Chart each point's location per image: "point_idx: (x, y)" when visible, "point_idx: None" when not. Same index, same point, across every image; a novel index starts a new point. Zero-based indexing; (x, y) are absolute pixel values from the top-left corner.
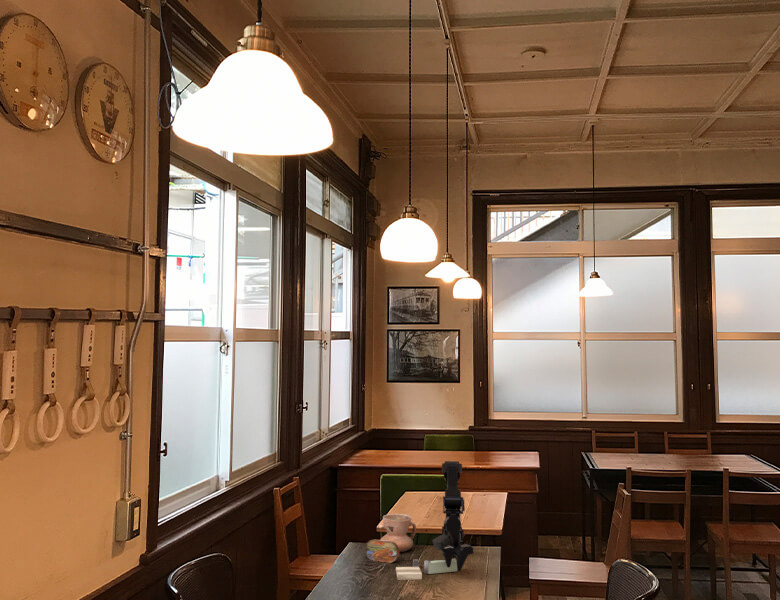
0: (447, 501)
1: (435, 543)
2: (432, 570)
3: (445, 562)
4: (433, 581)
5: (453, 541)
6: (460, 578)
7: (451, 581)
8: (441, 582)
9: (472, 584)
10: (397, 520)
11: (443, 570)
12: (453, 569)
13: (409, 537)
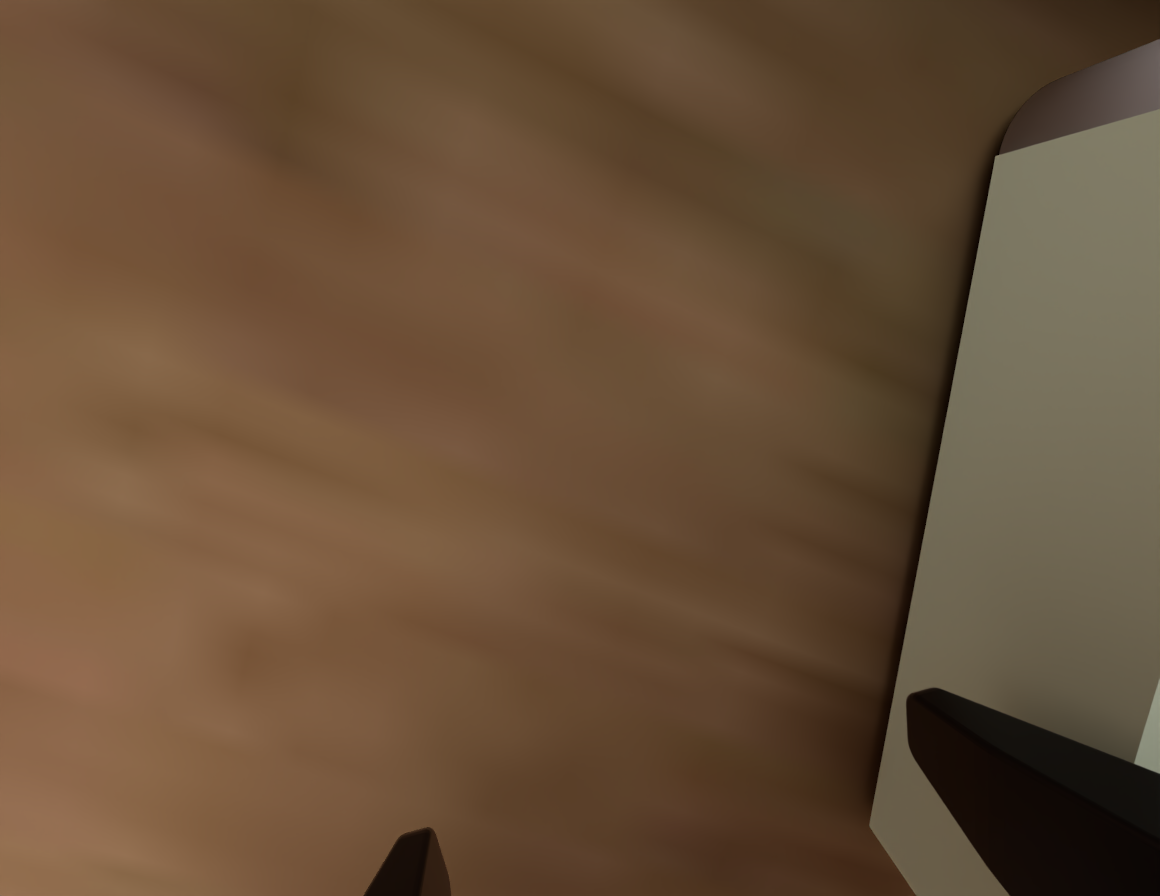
0: None
1: None
2: (1033, 269)
3: (1113, 736)
4: (448, 46)
5: None
6: (477, 748)
7: (328, 501)
8: (311, 230)
9: (18, 848)
10: None
11: (950, 564)
12: (907, 786)
13: None
